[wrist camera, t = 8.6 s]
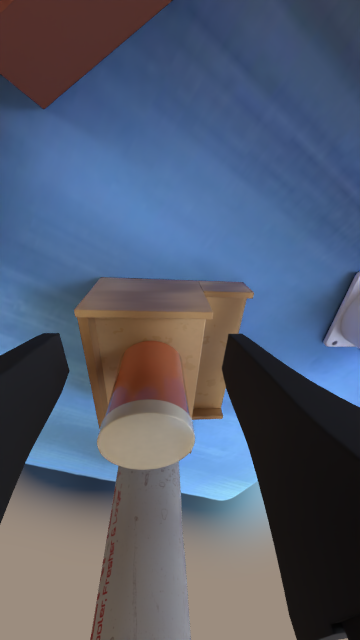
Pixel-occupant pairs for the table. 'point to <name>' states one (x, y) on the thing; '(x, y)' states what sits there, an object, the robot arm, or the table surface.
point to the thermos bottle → (144, 560)
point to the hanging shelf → (63, 40)
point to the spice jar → (147, 410)
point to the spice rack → (162, 332)
